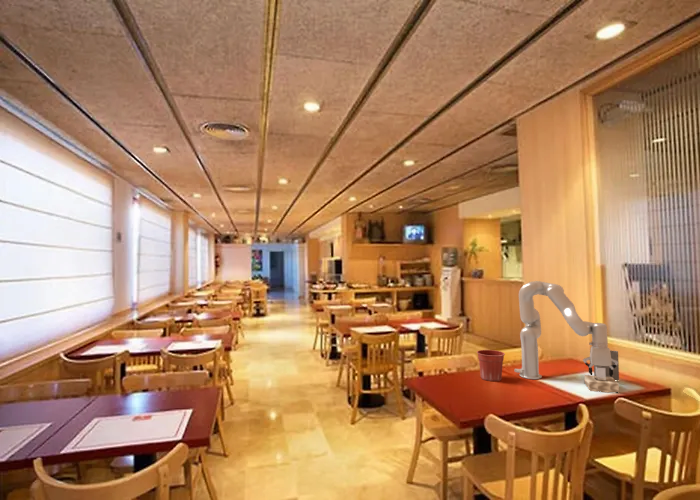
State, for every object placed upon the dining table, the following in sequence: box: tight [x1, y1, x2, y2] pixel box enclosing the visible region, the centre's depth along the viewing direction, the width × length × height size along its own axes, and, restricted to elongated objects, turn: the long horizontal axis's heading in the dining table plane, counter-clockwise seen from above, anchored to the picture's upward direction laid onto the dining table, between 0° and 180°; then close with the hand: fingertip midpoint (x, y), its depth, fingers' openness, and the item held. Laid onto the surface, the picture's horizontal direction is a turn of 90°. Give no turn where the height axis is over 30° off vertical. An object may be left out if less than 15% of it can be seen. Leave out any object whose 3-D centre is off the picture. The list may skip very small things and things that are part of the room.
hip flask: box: [593, 349, 620, 381], centre depth 239 cm, size 16×4×20 cm, turn 100°
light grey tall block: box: [596, 366, 606, 381], centre depth 225 cm, size 4×4×11 cm
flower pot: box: [476, 349, 506, 382], centre depth 247 cm, size 16×16×16 cm
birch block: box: [584, 374, 620, 394], centre depth 225 cm, size 14×14×5 cm
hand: (600, 375), depth 225 cm, fingers open, 9 cm apart
